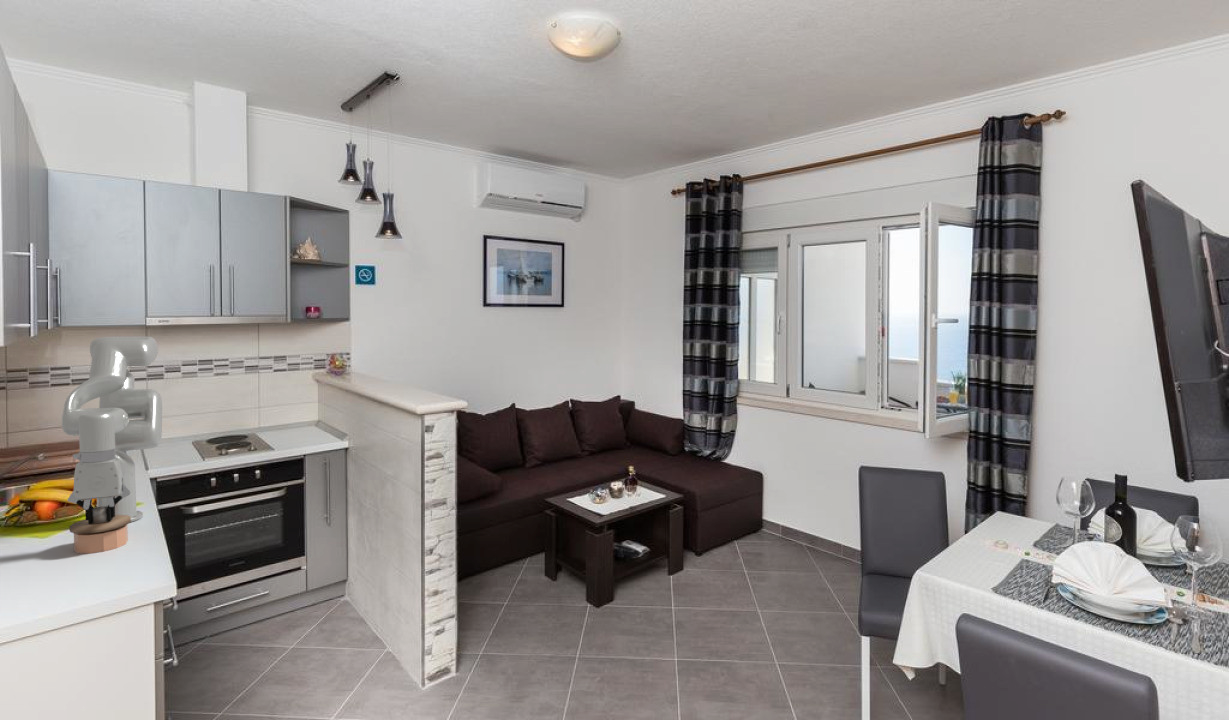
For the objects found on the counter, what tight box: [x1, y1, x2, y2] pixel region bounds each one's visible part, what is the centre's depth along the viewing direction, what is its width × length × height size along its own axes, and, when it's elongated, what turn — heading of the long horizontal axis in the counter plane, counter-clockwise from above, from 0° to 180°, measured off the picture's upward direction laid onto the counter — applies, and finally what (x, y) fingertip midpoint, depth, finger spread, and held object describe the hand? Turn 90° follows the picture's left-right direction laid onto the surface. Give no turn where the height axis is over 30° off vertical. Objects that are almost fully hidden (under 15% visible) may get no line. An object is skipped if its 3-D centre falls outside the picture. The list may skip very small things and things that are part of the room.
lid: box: [69, 506, 132, 534], centre depth 168 cm, size 13×13×5 cm
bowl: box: [73, 524, 129, 554], centre depth 169 cm, size 11×11×5 cm
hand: (100, 520), depth 168 cm, fingers closed on lid, 3 cm apart
